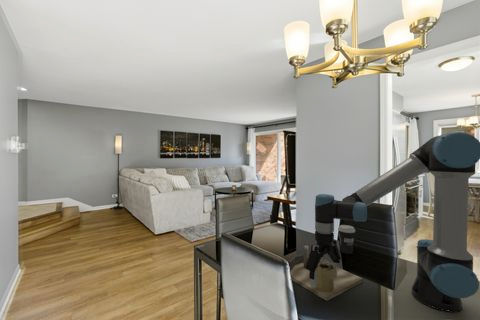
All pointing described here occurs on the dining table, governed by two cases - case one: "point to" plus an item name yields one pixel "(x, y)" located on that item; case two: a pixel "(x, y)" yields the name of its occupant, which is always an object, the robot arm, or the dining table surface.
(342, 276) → the carrier
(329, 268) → the tan piece
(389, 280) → the dining table surface
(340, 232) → the coffee cup
